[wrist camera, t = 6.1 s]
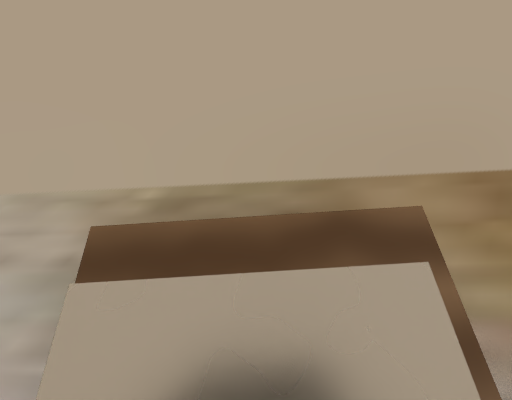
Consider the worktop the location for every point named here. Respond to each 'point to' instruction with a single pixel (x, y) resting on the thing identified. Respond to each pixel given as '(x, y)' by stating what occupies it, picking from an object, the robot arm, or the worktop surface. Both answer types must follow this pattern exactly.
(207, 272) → the walnut pocket block
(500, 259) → the worktop surface
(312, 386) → the aluminium bar
